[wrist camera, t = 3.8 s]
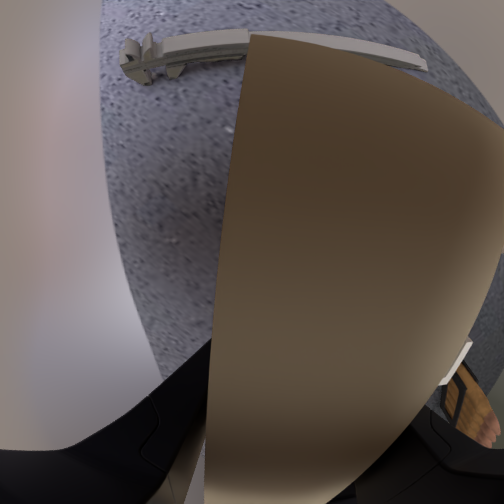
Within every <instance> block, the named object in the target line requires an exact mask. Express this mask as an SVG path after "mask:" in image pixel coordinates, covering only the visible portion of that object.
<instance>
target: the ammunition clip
mask: <svg viewBox="0 0 504 504" xmlns="http://www.w3.org/2000/svg"><path fill="white" fill-rule="evenodd" d="M478 382H479V381H478V379H477V378H476V376H475V375H474V374H473V372H472V371H471V369H470V368H469V367H468V365H467V364H466V363H465V361H464V360H462V362H461V363H460V365H459V367H458V368H457V370H456V371H455V373H454V374H453V376H452V377H451V379H450V380H449V382H448V383H447V384H445V385H443V386H442V394H441V402H440V407H441V409H442V411H443V412H444V414H445V416H446V418H447V420H448V421H449V423H450V424H451V425H452V426H454V427H455V428H457V429H458V430H460V431H461V432H463V433H464V434H466V435H467V436H469V437H470V438H472V439H473V440H475V441H477V442H478V443H480V444H481V445H483V446H485V447H488V448H492V443H491V441H492V442H496V435H500V433H501V432H500V426H499V423H498V420H497V418H496V416H495V414H494V412H493V410H492V408H491V406H490V404H489V402H488V399H487V397H486V396H485V394H484V393H483V391H482V390H481V389H480V387H479V386H478ZM495 434H496V435H495Z"/></svg>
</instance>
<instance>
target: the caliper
mask: <svg viewBox="0 0 504 504" xmlns="http://www.w3.org/2000/svg"><path fill="white" fill-rule="evenodd" d="M251 34H257V35H266V36H273V37H280V38H287V39H293V40H298V41H303V42H308V43H313V44H318V45H322V46H326V47H330V48H334V49H338V50H341V51H345V52H349V53H352V54H355V55H358V56H362V57H365V58H368V59H371V60H374V61H376V62H379V63H382V64H385V65H390V66H394V67H400V68H407V69H412V70H413V69H416V70H420V71H423V72H428V69H427V64H426V61H425V59H422V58H420V56H419V55H418V54H415V53H412V52H409V51H405V50H402V49H398V48H395V47H391V46H387V45H383V44H378V43H374V42H369V41H364V40H359V39H353V38H347V37H340V36H333V35H325V34H315V33H303V32H282V31H254V32H248V29H228V30H216V31H206V32H198V33H191V34H184V35H178V36H172V37H167V38H163V39H162V42H160V43H156V42H153V37H152V34H151V33H150V32H149V33H148V34H147V35H146V36H145V38H144V39H143V43H142V44H143V46H140V44H139V43H138V42H136V41H135V40H132V39H125V49H122V50H119V55H120V66H121V68H122V70H123V72H124V73H125V75H126V76H127V77H128V78H130V79H132V80H134V81H136V82H138V83H139V84H141V85H144V86H148V85H152V78H151V71H150V68H155V67H160V66H164V65H166V71H167V76H168V77H169V78H170V80H172V79H176V78H178V76H179V75H180V73H181V72H182V70H183V69H184V68H185V66H186V65H187V63H193V62H219V61H224V60H242V59H243V58H244V56H245V55H247V53H248V48H249V42H250V37H251Z"/></svg>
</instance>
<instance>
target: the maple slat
mask: <svg viewBox="0 0 504 504" xmlns="http://www.w3.org/2000/svg"><path fill="white" fill-rule="evenodd" d="M503 245H504V129H502V128H501V127H500V126H498V125H497V124H496V123H494V122H493V121H491V120H490V119H489V118H487V117H486V116H484V115H483V114H481V113H480V112H478V111H477V110H475V109H473V108H472V107H470V106H469V105H467V104H465V103H464V102H462V101H460V100H459V99H457V98H455V97H453V96H452V95H450V94H448V93H446V92H444V91H442V90H441V89H439V88H437V87H435V86H433V85H431V84H429V83H427V82H425V81H423V80H420V79H418V78H416V77H414V76H412V75H409V74H407V73H405V72H402V71H400V70H397V69H395V68H392V67H390V66H387V65H385V64H382V63H379V62H376V61H374V60H371V59H368V58H365V57H362V56H358V55H355V54H352V53H349V52H345V51H341V50H338V49H334V48H330V47H326V46H322V45H318V44H313V43H308V42H303V41H298V40H293V39H287V38H280V37H273V36H266V35H257V34H251V37H250V42H249V48H248V53H247V59H246V64H245V70H244V76H243V82H242V88H241V94H240V101H239V107H238V113H237V120H236V127H235V133H234V140H233V147H232V154H231V162H230V169H229V177H228V184H227V192H226V200H225V208H224V217H223V225H222V234H221V243H220V253H219V262H218V272H217V282H216V293H215V304H214V315H213V327H212V340H211V353H210V367H209V383H208V400H207V419H206V443H205V476H204V478H205V479H204V504H326V503H327V502H328V501H330V500H331V499H332V498H334V497H335V496H336V495H337V494H339V493H340V492H341V491H342V490H344V489H345V488H346V487H347V486H348V485H350V484H351V483H352V482H353V481H354V480H355V479H357V478H358V477H359V476H360V475H361V474H362V473H363V472H364V471H365V470H366V469H368V468H369V467H370V466H371V465H372V464H373V463H374V462H375V461H376V460H377V459H378V458H379V457H380V456H381V455H382V454H383V453H384V452H385V451H386V450H387V449H388V448H389V446H390V445H391V444H392V443H393V442H394V441H395V440H396V439H397V438H398V437H399V435H400V434H401V433H402V432H403V431H404V430H405V428H406V427H407V426H408V425H409V424H410V422H411V421H412V420H413V419H414V418H415V416H416V415H417V414H418V412H419V411H420V410H421V409H422V407H423V406H424V405H425V403H426V402H427V400H428V399H429V398H430V396H431V395H432V394H433V392H434V391H435V389H436V388H437V386H438V385H439V383H440V382H441V380H442V379H443V377H444V376H445V374H446V373H447V371H448V369H449V368H450V366H451V364H452V363H453V361H454V359H455V358H456V356H457V354H458V352H459V351H460V349H461V347H462V345H463V343H464V342H465V340H466V338H467V336H468V334H469V332H470V330H471V328H472V326H473V324H474V322H475V320H476V318H477V315H478V313H479V311H480V309H481V307H482V304H483V302H484V300H485V297H486V295H487V292H488V290H489V287H490V285H491V282H492V279H493V276H494V274H495V271H496V268H497V265H498V262H499V259H500V256H501V252H502V249H503Z"/></svg>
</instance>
